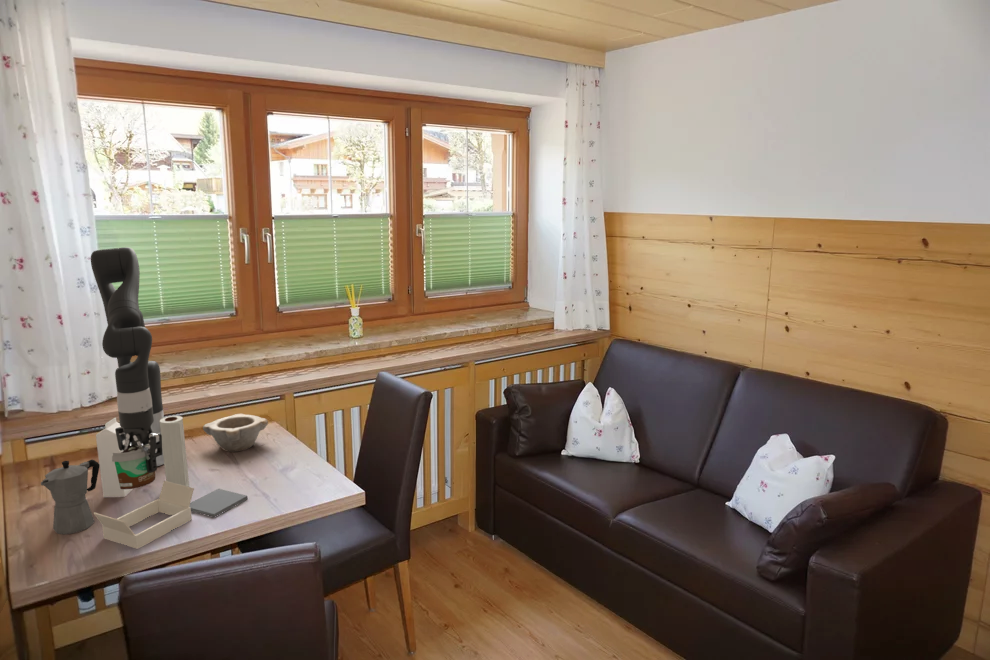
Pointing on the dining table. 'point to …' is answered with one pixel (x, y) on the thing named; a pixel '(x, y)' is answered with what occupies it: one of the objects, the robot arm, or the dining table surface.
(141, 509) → the carton
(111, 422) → the milk
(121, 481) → the food container
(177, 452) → the paper towel roll
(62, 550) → the dining table surface
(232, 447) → the mortar
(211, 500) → the trivet
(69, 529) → the coffeepot
